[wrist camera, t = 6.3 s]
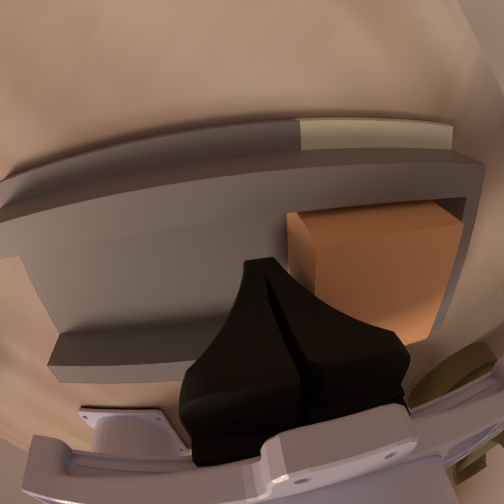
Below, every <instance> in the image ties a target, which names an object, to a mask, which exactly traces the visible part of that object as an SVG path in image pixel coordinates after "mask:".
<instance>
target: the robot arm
mask: <svg viewBox="0 0 504 504" xmlns="http://www.w3.org/2000/svg"><path fill="white" fill-rule="evenodd" d="M410 361H411V360H410V354H409V353H408V351H407V349H406V348H405V346H404V344H403V343H402V341H401V340H400V339H399V337H398V336H397V335H396V333H395V332H394V331H390V330H387V329H383V328H380V327H377V326H373V325H370V324H368V323H365V322H363V321H360V320H357V319H355V318H353V317H351V316H348V315H346V314H345V313H343V312H341V311H339V310H337V309H335V308H333V307H331V306H330V305H328V304H326V303H325V302H323V301H322V300H320V299H319V298H317V297H316V296H315V295H313V294H312V293H311V292H309V291H308V290H307V289H306V288H304V287H303V286H302V285H301V284H300V283H299V282H298V281H297V280H295V279H294V278H293V277H292V276H291V275H290V274H289V273H288V272H287V271H286V270H285V269H284V268H283V267H282V266H281V265H280V263H279V262H278V261H277V260H276V259H275V258H274V257H266V258H259V259H252V260H245V262H244V263H243V275H242V280H241V284H240V287H239V291H238V294H237V297H236V299H235V302H234V304H233V307H232V309H231V311H230V313H229V315H228V317H227V319H226V321H225V323H224V324H223V326H222V328H221V329H220V331H219V333H218V334H217V336H216V337H215V338H214V340H213V341H212V342H211V344H210V345H209V346H208V347H207V349H206V350H205V351H204V353H203V354H202V355H201V356H200V357H199V358H198V359H197V360H196V361H195V362H194V363H193V364H192V365H191V366H190V367H189V368H188V369H187V370H186V373H185V376H184V379H183V382H182V386H181V391H180V397H179V418H180V421H181V423H182V424H183V426H184V428H185V429H186V431H187V432H188V434H189V436H190V437H191V440H192V455H189V456H180V455H188V454H189V450H188V449H187V448H186V446H185V445H184V443H183V442H182V441H181V439H180V438H179V436H178V435H177V433H176V432H175V430H174V429H173V428H172V426H171V425H170V423H169V422H168V420H167V419H166V417H165V415H164V414H163V412H162V411H160V410H155V409H154V410H109V409H86V408H79V409H78V412H77V413H78V414H79V415H80V416H81V417H82V419H83V420H84V421H85V422H86V423H87V424H88V425H89V426H90V427H91V428H92V429H93V430H94V432H93V438H92V444H91V451H90V452H88V451H80V450H73V449H71V448H70V447H69V446H68V445H67V444H66V443H64V442H63V441H61V440H59V439H56V438H51V437H46V436H40V435H33V437H32V441H31V445H30V449H29V454H28V458H27V463H26V468H25V473H24V478H23V484H22V491H23V492H25V493H27V494H28V495H30V496H32V497H34V498H36V499H38V500H40V501H42V502H44V503H46V504H459V502H458V499H457V497H456V495H455V492H454V490H453V487H452V485H451V482H450V480H449V478H448V475H447V473H446V471H445V469H446V468H447V467H449V466H451V465H453V464H454V463H456V462H458V461H459V460H461V459H462V458H464V457H466V456H467V455H469V454H470V453H472V452H473V451H475V450H476V449H478V448H479V447H481V446H482V445H484V444H485V443H486V442H488V441H489V440H491V439H492V438H493V437H495V436H496V435H498V434H499V433H500V432H502V431H503V430H504V355H503V356H502V357H501V358H500V359H499V360H498V361H497V362H496V363H495V365H494V366H493V368H492V371H490V372H488V373H487V374H485V375H483V376H481V377H479V378H477V379H476V380H474V381H472V382H470V383H468V384H466V385H464V386H462V387H460V388H458V389H456V390H454V391H452V392H450V393H447V394H445V395H443V396H441V397H439V398H436V399H434V400H432V401H430V402H427V403H425V404H422V405H420V406H418V407H415V408H413V409H410V410H409V409H408V407H407V405H406V403H405V401H404V399H403V396H404V394H405V393H404V390H403V388H402V386H401V382H402V380H403V378H404V376H405V374H406V372H407V370H408V367H409V364H410Z"/></svg>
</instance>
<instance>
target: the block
mask: <svg viewBox="0 0 504 504" xmlns="http://www.w3.org/2000/svg"><path fill="white" fill-rule="evenodd" d="M463 227H464V223H462V222H461V221H460V220H458V219H457V218H456V217H454V216H453V215H451V214H450V213H449V212H447V211H446V210H444V209H443V208H442V207H440V206H439V205H437V204H436V203H434V202H433V201H431V200H430V199H428V200H415V201H403V202H391V203H380V204H369V205H359V206H348V207H339V208H329V209H320V210H311V211H302V212H293V213H287V238H288V273H289V274H290V275H291V276H292V277H293V278H294V279H295V280H297V281H298V282H299V283H300V284H301V285H302V286H303V287H304V288H306V289H307V290H308V291H309V292H311V293H312V294H313V295H315V296H316V297H317V298H319V299H320V300H322V301H323V302H325V303H326V304H328V305H330V306H331V307H333V308H335V309H337V310H339V311H341V312H343V313H345V314H346V315H348V316H351V317H353V318H355V319H357V320H360V321H363V322H365V323H368V324H370V325H373V326H377V327H380V328H383V329H387V330H390V331H394V332H395V333H396V335H397V336H398V337H399V339H400V340H401V341H402V343H403V344H404V346H405V345H408V344H411V343H414V342H418V341H421V340H424V339H427V338H428V336H429V333H430V331H431V328H432V326H433V323H434V321H435V318H436V315H437V313H438V310H439V307H440V305H441V302H442V299H443V296H444V293H445V290H446V287H447V284H448V281H449V278H450V275H451V271H452V268H453V265H454V261H455V258H456V254H457V251H458V247H459V243H460V239H461V235H462V231H463Z"/></svg>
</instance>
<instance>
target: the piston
mask: <svg viewBox="0 0 504 504" xmlns="http://www.w3.org/2000/svg"><path fill="white" fill-rule="evenodd" d="M497 361H498V359H497V358H496V357H495V355H494V354H493V353H492V351H491V350H490V349H489V347H488V346H487V345H486V344H485V343H483V342H478V343H474V344H471V345H469V346H467V347H465V348H463V349H461V350H459V351H458V352H456V353H455V354H453V355H452V356H450V357H449V358H447V359H446V360H445V361H443V362H442V363H441V364H439V365H438V366H437V367H436V368H435V369H433V370H432V371H431V372H430V373H429V374H428V375H427V376H426V377H425V378H424V379H423V380H422V381H421V382H420V383H419V384H418V385H417V386H416V388H415V389H414V390H413V392H412V393H411V395H410V397H409V399H408V406H409V408H410V409H413V408H415V407H418V406H420V405H422V404H425V403H427V402H430V401H432V400H434V399H436V398H439V397H441V396H443V395H445V394H447V393H450V392H452V391H454V390H456V389H458V388H460V387H462V386H464V385H466V384H468V383H470V382H472V381H474V380H476V379H477V378H479V377H481V376H483V375H485V374H487V373H488V372H490V371H492V368H493V366H494V365H495V363H496V362H497ZM498 443H499V444H500V445H502V446H503V448H504V430H503V431H502V432H500V433H499V434H498V435H496V436H495V437H493V438H492V439H491V440H489V441H488V442H486V443H485V444H484V445H482V446H481V447H479V448H478V449H476V450H475V451H473V452H472V453H470V454H469V455H467V456H466V457H464V458H462V459H461V460H459V461H458V462H456V463H454V464H453V465H451V466H449V467H447V468H446V469H445V471H446V473H447V475H448V478H449V480H450V482H451V485H452V487H455V486H457V485H458V484H460V483H462V482H464V481H465V480H467V479H468V478H470V477H471V476H473V475H475V474H476V473H478V472H479V471H481V470H482V469H484V468H485V467H486V466H487V465H486V453H487V452H488V451H489V450H490V449H492V448H493V447H494V446H496V445H497V444H498Z"/></svg>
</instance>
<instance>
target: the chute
mask: <svg viewBox="0 0 504 504" xmlns="http://www.w3.org/2000/svg"><path fill="white" fill-rule="evenodd" d="M452 136H453V126H450V125H447V124H444V123H439V122H430V121H419V120H406V119H390V118H364V117H320V118H293V119H276V120H263V121H251V122H241V123H232V124H223V125H215V126H208V127H201V128H194V129H187V130H181V131H175V132H169V133H164V134H159V135H153V136H148V137H143V138H139V139H134V140H129V141H125V142H120V143H116V144H112V145H108V146H104V147H100V148H96V149H92V150H89V151H85V152H81V153H78V154H74V155H71V156H67V157H64V158H61V159H58V160H54V161H51V162H48V163H45V164H42V165H39V166H36V167H33V168H30V169H28V170H25V171H22V172H19V173H17V174H14V175H11V176H9V177H6V178H4V179H2V180H1V181H0V205H1V208H0V259H3V258H8V257H13V256H18V255H19V256H20V258H21V260H22V262H23V265H24V267H25V269H26V271H27V273H28V276H29V278H30V280H31V282H32V284H33V286H34V288H35V290H36V292H37V294H38V296H39V298H40V300H41V302H42V303H43V305H44V307H45V309H46V311H47V313H48V314H49V316H50V318H51V320H52V321H53V323H54V325H55V327H56V328H57V330H58V332H59V333H60V335H59V337H58V340H57V342H56V344H55V347H54V349H53V352H52V354H51V357H50V359H49V362H48V364H47V366H48V368H49V369H50V370H51V372H52V373H53V374H54V376H55V377H56V378H57V379H58V381H59V382H61V383H94V384H116V383H150V382H168V381H182V380H183V379H184V376H185V373H186V370H187V369H188V368H189V367H190V366H191V365H192V364H193V363H194V362H195V361H196V360H197V359H198V358H199V357H200V356H201V355H202V354H203V353H204V351H205V350H206V349H207V347H208V346H209V345H210V344H211V342H212V341H213V340H214V338H215V337H216V336H217V334H218V333H219V331H220V329H221V328H222V326H223V324H224V323H225V321H226V319H227V317H228V315H229V313H230V311H231V309H232V307H233V304H234V302H235V299H236V297H237V294H238V291H239V287H240V284H241V280H242V275H243V263H244V262H245V260H252V259H259V258H266V257H274V258H275V259H276V260H277V261H278V262H279V263H280V265H281V266H282V267H283V268H284V269H285V270H286V271H287V272H288V238H287V213H293V212H302V211H311V210H320V209H329V208H339V207H348V206H359V205H369V204H380V203H391V202H403V201H415V200H428V199H430V200H431V201H433V202H434V203H436V204H437V205H439V206H440V207H442V208H443V209H444V210H446V211H447V212H449V213H450V214H451V215H453V216H454V217H456V218H457V219H458V220H460V221H461V222H462V223H464V227H463V231H462V235H461V239H460V243H459V247H458V251H457V254H456V258H455V261H454V265H453V268H452V271H451V275H450V278H449V281H448V284H447V287H446V290H445V293H444V296H443V299H442V302H441V305H440V307H439V310H438V313H437V315H436V318H435V321H434V323H433V326H432V328H431V331H432V330H435V329H438V328H440V327H441V325H442V323H443V320H444V318H445V315H446V313H447V310H448V307H449V305H450V302H451V299H452V297H453V294H454V291H455V288H456V285H457V282H458V279H459V276H460V273H461V270H462V267H463V264H464V260H465V257H466V254H467V250H468V246H469V243H470V239H471V235H472V231H473V227H474V223H475V219H476V214H477V209H478V205H479V200H480V194H481V189H482V183H483V177H484V170H485V164H483V163H481V162H478V161H476V160H474V159H472V158H470V157H468V156H465V155H463V154H461V153H458V152H456V151H454V150H451V148H452Z"/></svg>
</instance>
